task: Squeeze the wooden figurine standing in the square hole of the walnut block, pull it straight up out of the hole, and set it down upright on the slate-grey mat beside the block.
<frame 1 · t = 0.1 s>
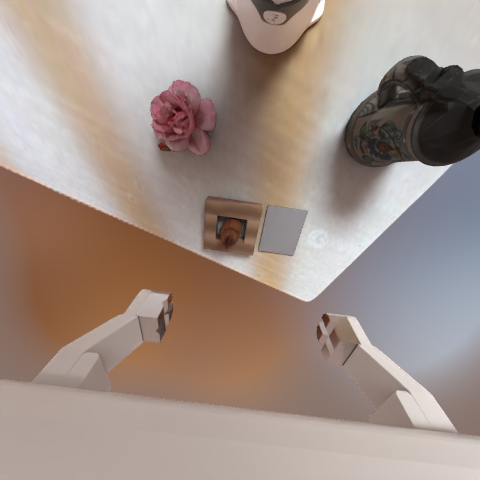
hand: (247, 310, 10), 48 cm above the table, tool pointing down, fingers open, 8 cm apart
walnut socket block: (232, 224, 60), on the table
beer stein: (372, 127, 46), on the table
wooden figurine: (232, 224, 60), resting in walnut socket block
flower: (188, 122, 48), on the table
slate mat: (281, 231, 61), on the table
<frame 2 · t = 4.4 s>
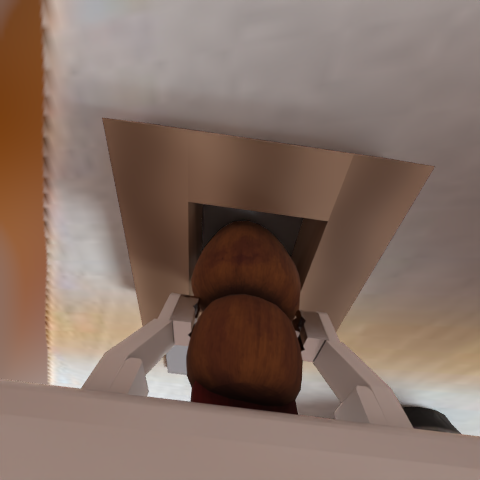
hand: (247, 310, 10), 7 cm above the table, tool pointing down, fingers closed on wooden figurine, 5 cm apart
walnut socket block: (247, 243, 16), on the table
beer stein: (400, 422, 32), on the table
wooden figurine: (247, 242, 17), resting in walnut socket block, touching gripper
slate mat: (229, 350, 24), on the table
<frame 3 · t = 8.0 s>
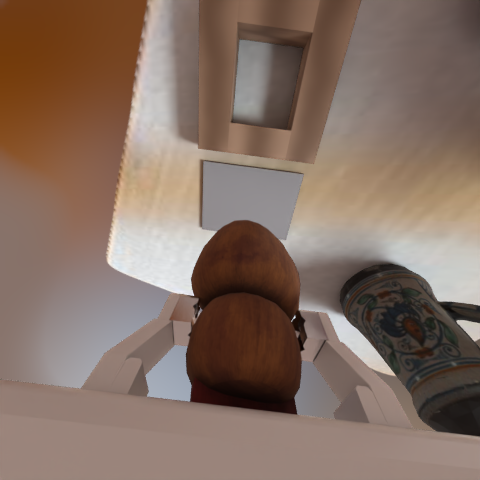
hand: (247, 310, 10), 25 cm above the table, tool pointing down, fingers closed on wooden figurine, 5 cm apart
walnut socket block: (264, 89, 25), on the table
beer stein: (379, 287, 41), on the table
wooden figurine: (247, 242, 17), point 18 cm above the table, touching gripper
slate mat: (248, 203, 33), on the table
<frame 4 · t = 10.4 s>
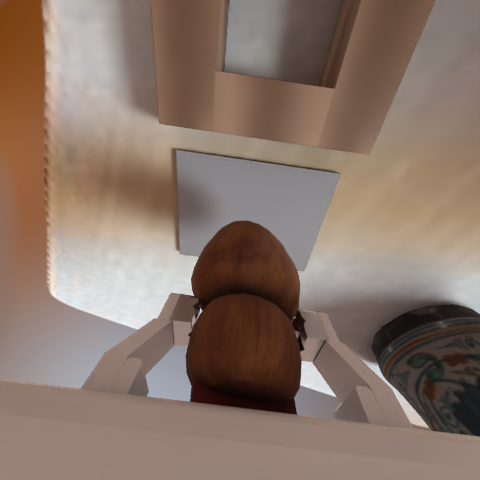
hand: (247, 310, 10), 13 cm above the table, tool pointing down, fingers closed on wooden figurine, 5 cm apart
walnut socket block: (282, 15, 14), on the table
beer stein: (430, 332, 30), on the table
wooden figurine: (247, 242, 17), point 6 cm above the table, touching gripper
slate mat: (249, 217, 22), on the table
when the fingers open (9 cm above the table, at t = 12.0 s): wooden figurine drops 2 cm, resting on slate mat.
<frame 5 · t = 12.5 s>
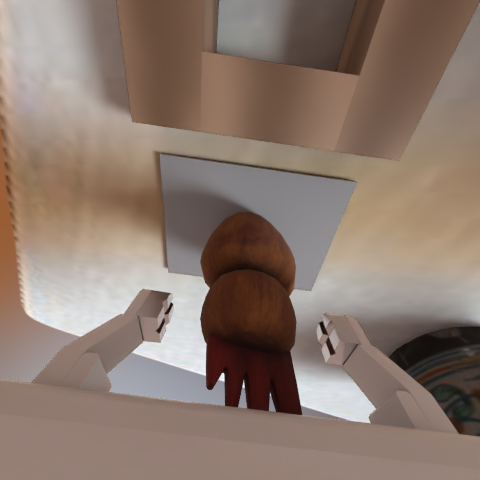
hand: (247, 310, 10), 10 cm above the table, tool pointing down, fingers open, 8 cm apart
beer stein: (449, 354, 27), on the table
wooden figurine: (248, 233, 18), resting on slate mat
slate mat: (248, 231, 19), on the table
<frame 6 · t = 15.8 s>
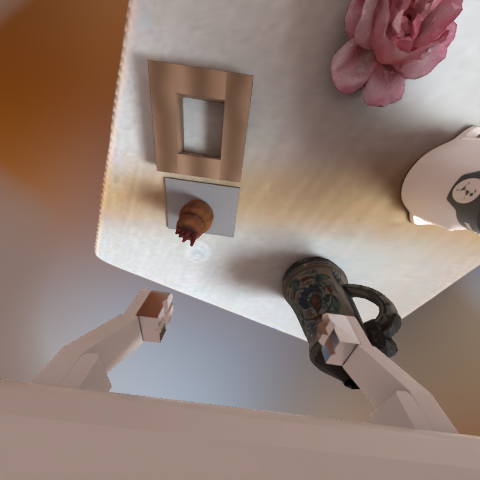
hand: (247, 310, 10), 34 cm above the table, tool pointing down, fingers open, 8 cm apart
walnut socket block: (204, 129, 36), on the table
beer stein: (313, 275, 52), on the table
wooden figurine: (201, 209, 43), resting on slate mat
flower: (371, 50, 30), on the table
slate mat: (202, 208, 44), on the table
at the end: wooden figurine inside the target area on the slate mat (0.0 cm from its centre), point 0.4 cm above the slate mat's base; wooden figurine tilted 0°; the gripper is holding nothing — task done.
